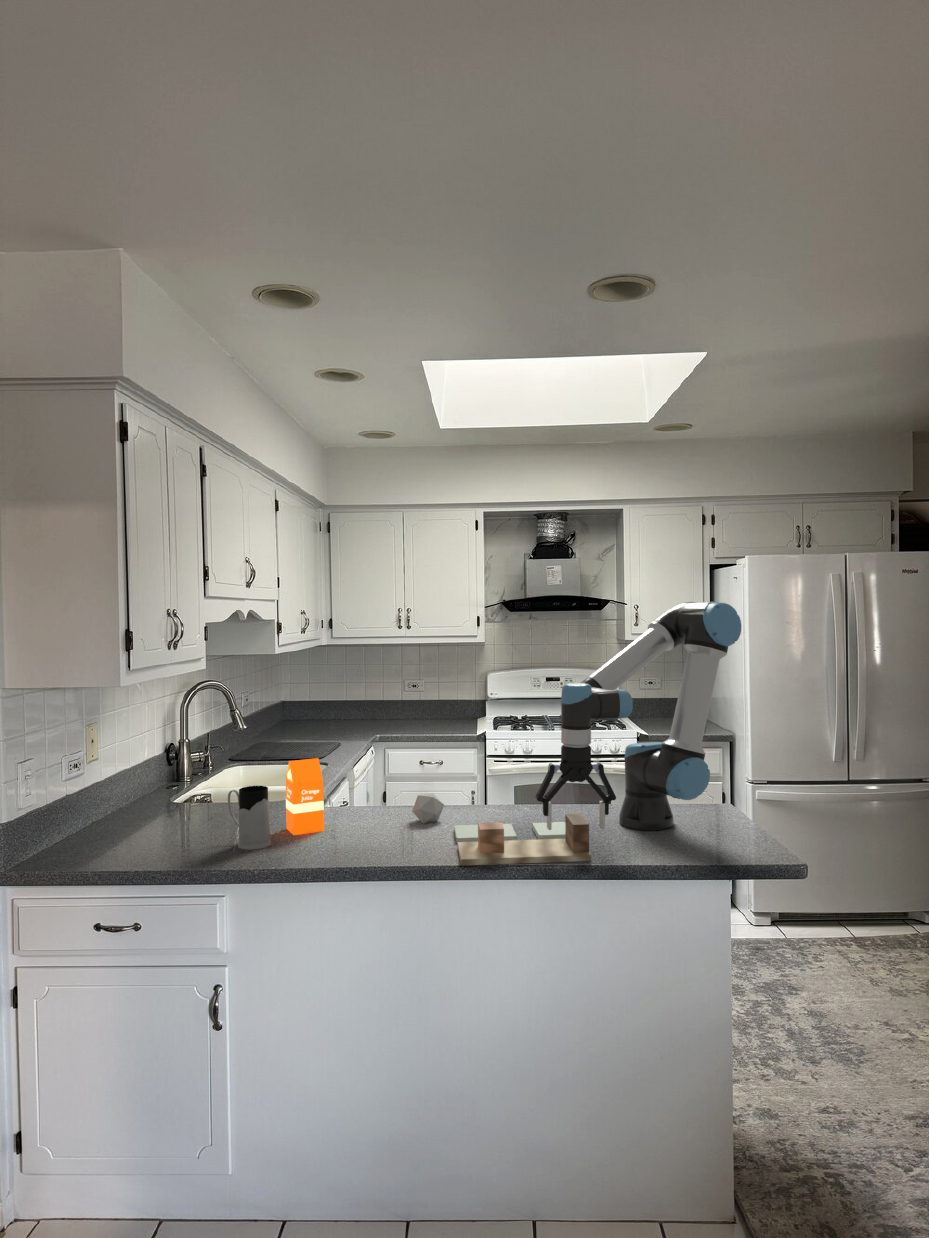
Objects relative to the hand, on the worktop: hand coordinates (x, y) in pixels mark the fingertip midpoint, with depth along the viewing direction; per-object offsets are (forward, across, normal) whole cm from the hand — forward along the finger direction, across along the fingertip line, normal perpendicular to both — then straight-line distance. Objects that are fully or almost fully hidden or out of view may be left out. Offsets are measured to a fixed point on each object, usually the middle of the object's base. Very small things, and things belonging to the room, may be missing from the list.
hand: (575, 828), depth 207 cm
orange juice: (+8, +72, -29) cm, 78 cm away
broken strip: (+6, +14, -17) cm, 23 cm away
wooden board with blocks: (+7, +14, 0) cm, 15 cm away
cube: (+5, +22, 0) cm, 22 cm away
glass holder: (+8, +86, -18) cm, 88 cm away
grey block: (+7, +36, -34) cm, 50 cm away
